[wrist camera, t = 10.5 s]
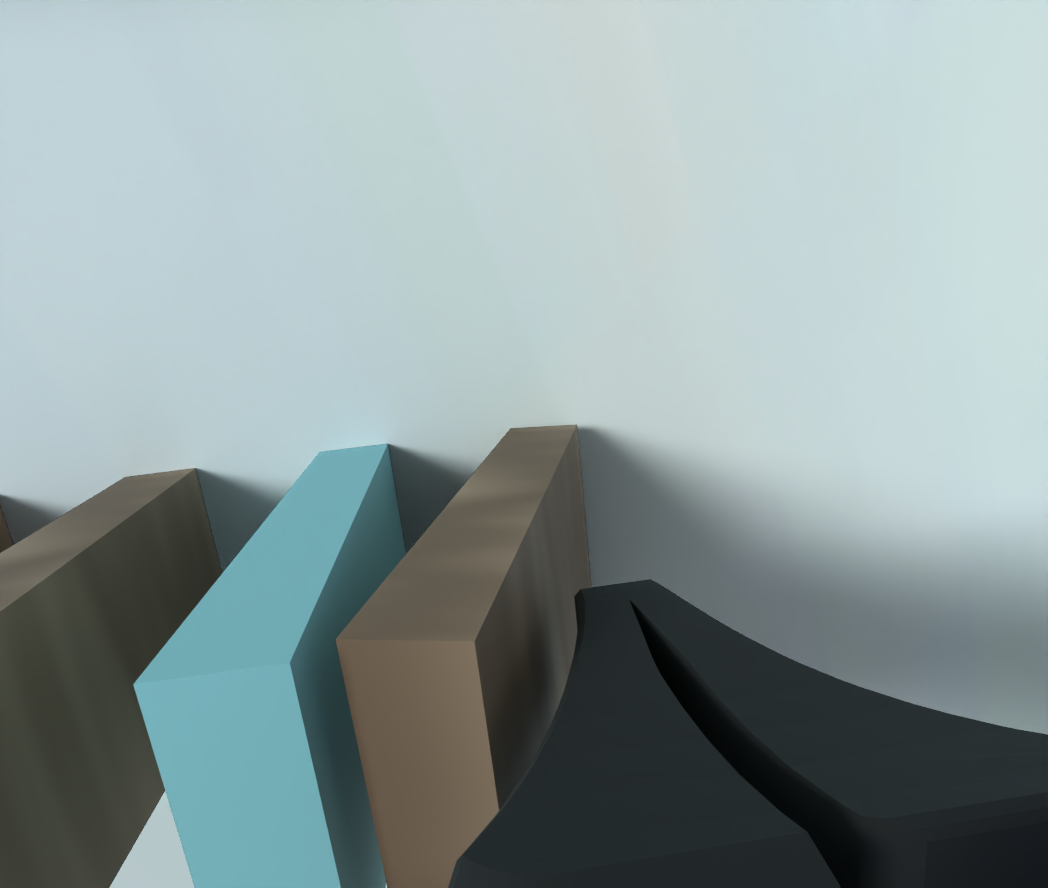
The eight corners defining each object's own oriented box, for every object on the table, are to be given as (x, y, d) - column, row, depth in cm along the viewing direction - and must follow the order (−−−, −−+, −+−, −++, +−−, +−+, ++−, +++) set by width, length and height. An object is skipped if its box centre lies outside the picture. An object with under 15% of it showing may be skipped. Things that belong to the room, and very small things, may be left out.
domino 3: (577, 424, 15) (474, 641, 7) (594, 614, 17) (525, 992, 8) (510, 428, 16) (335, 639, 7) (532, 614, 17) (405, 977, 9)
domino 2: (387, 443, 16) (289, 661, 7) (418, 630, 17) (369, 1011, 8) (319, 452, 15) (133, 685, 7) (356, 638, 17) (239, 1033, 8)
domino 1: (195, 468, 15) (-156, 726, 7) (242, 655, 17) (1, 1075, 8) (125, 477, 15) (-327, 751, 7) (178, 664, 17) (-137, 1098, 8)
